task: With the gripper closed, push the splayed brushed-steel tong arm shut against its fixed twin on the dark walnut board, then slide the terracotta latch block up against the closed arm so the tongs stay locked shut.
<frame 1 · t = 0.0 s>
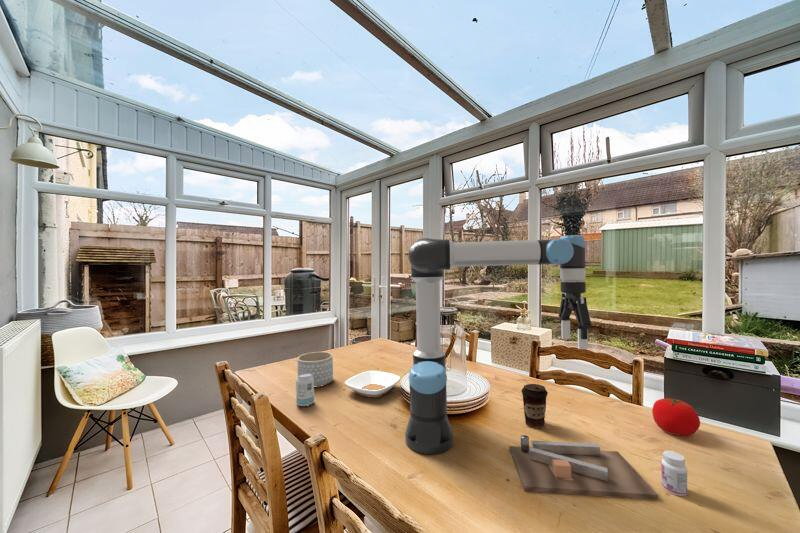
hand: (573, 343, 107), 28 cm above the table, fingers open, 13 cm apart
beverage can: (305, 404, 128), on the table
bowl: (373, 391, 140), on the table
coffee cup: (535, 425, 108), on the table
board: (574, 471, 83), on the table
tomato: (674, 432, 102), on the table
latch: (561, 468, 81), point 3 cm above the table, slide at 0.0 cm
tong arm: (566, 463, 83), point 3 cm above the table, hinge at 25.0°
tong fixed: (525, 454, 91), resting on board
pill bottle: (674, 490, 76), on the table
planter: (315, 383, 152), on the table
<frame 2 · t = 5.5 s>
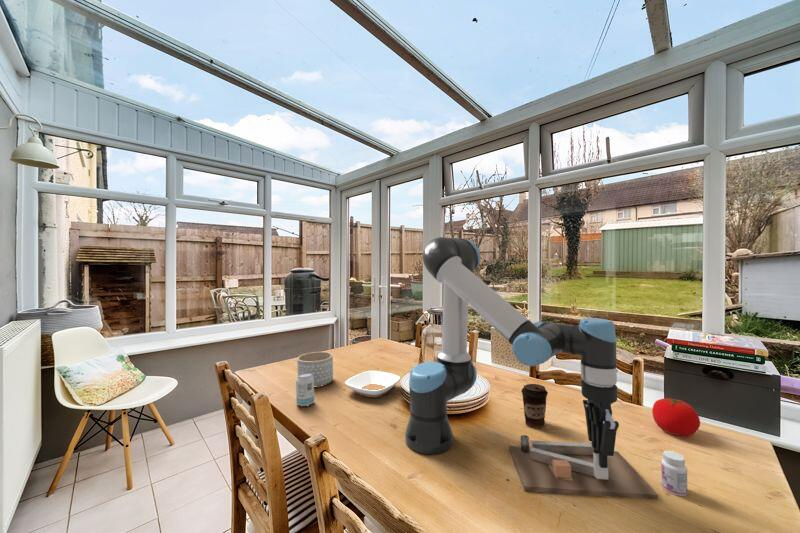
hand: (601, 477, 78), 2 cm above the table, fingers closed
tong arm: (567, 462, 83), point 3 cm above the table, hinge at 23.2°, touching gripper
everything else where it was.
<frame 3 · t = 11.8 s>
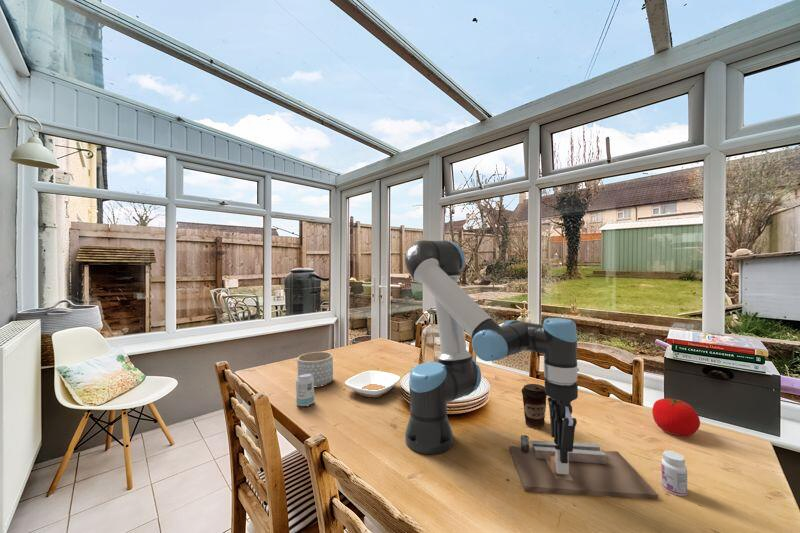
hand: (562, 472, 80), 2 cm above the table, fingers closed
latch: (559, 465, 82), point 3 cm above the table, slide at 1.4 cm, touching gripper
tong arm: (569, 454, 87), point 3 cm above the table, hinge at 2.8°
everything else where it was.
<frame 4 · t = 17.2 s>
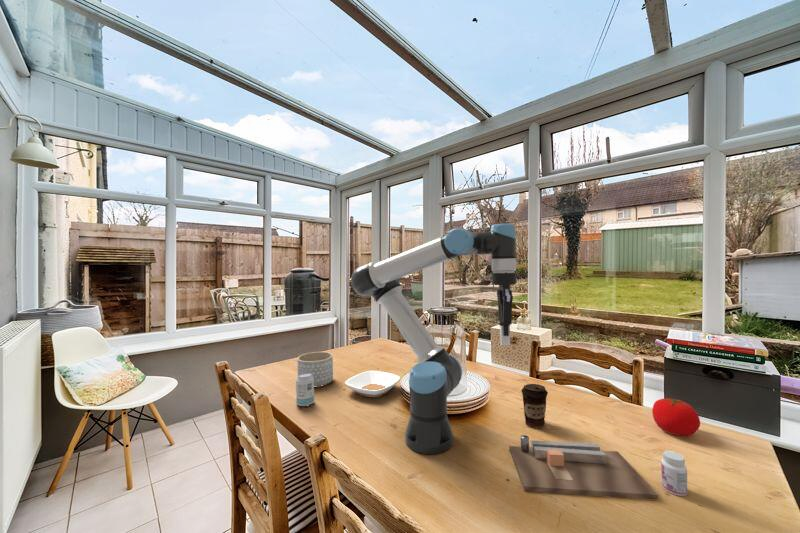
hand: (505, 345, 101), 29 cm above the table, fingers closed
latch: (555, 457, 85), point 3 cm above the table, slide at 4.6 cm
everything else where it was.
at the end: tong arm at +3° (first picture: +25°); latch slide at 4.6 cm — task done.
